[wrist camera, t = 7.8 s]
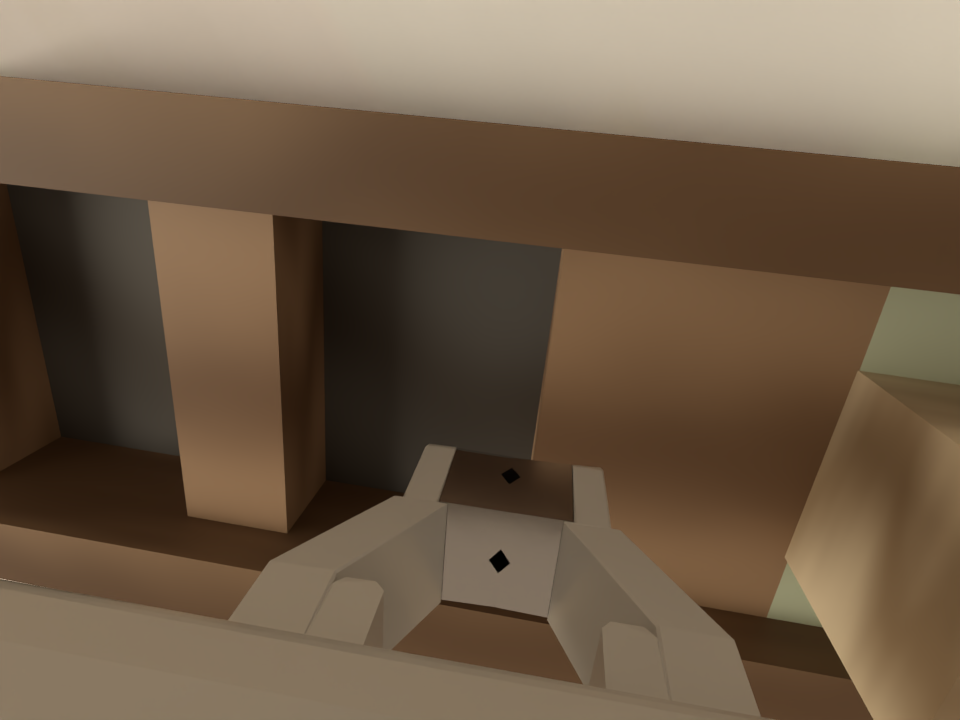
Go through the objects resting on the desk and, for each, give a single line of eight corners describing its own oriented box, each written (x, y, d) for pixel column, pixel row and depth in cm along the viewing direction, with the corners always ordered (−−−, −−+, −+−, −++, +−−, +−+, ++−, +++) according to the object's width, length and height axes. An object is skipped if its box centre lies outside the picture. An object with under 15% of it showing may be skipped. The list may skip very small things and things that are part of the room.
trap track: (-54, 77, 15) (-365, 39, 10) (1136, 191, 12) (1543, 219, 7) (40, 474, 20) (-138, 584, 15) (914, 625, 17) (1064, 826, 12)
